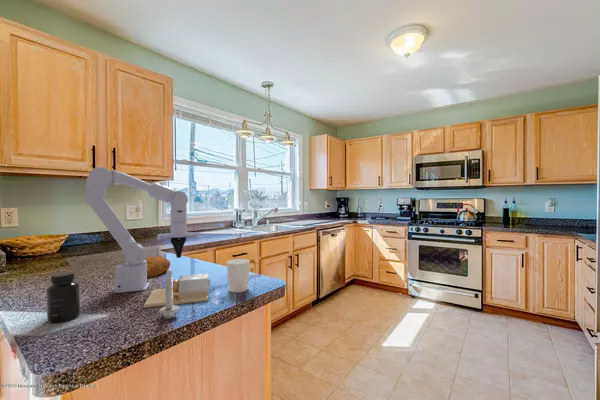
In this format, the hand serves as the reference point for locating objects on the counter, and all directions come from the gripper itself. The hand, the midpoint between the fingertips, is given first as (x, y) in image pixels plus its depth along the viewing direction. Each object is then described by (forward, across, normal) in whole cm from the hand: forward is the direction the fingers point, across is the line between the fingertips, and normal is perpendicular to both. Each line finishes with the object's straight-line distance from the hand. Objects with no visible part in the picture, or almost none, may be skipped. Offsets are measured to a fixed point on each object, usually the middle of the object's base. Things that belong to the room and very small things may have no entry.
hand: (178, 257), depth 107 cm
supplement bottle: (+10, -26, -26) cm, 38 cm away
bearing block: (+9, +2, -18) cm, 20 cm away
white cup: (+10, +21, -17) cm, 29 cm away
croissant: (+10, -13, +18) cm, 24 cm away
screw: (+10, +1, -34) cm, 35 cm away
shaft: (+8, +6, -18) cm, 21 cm away
